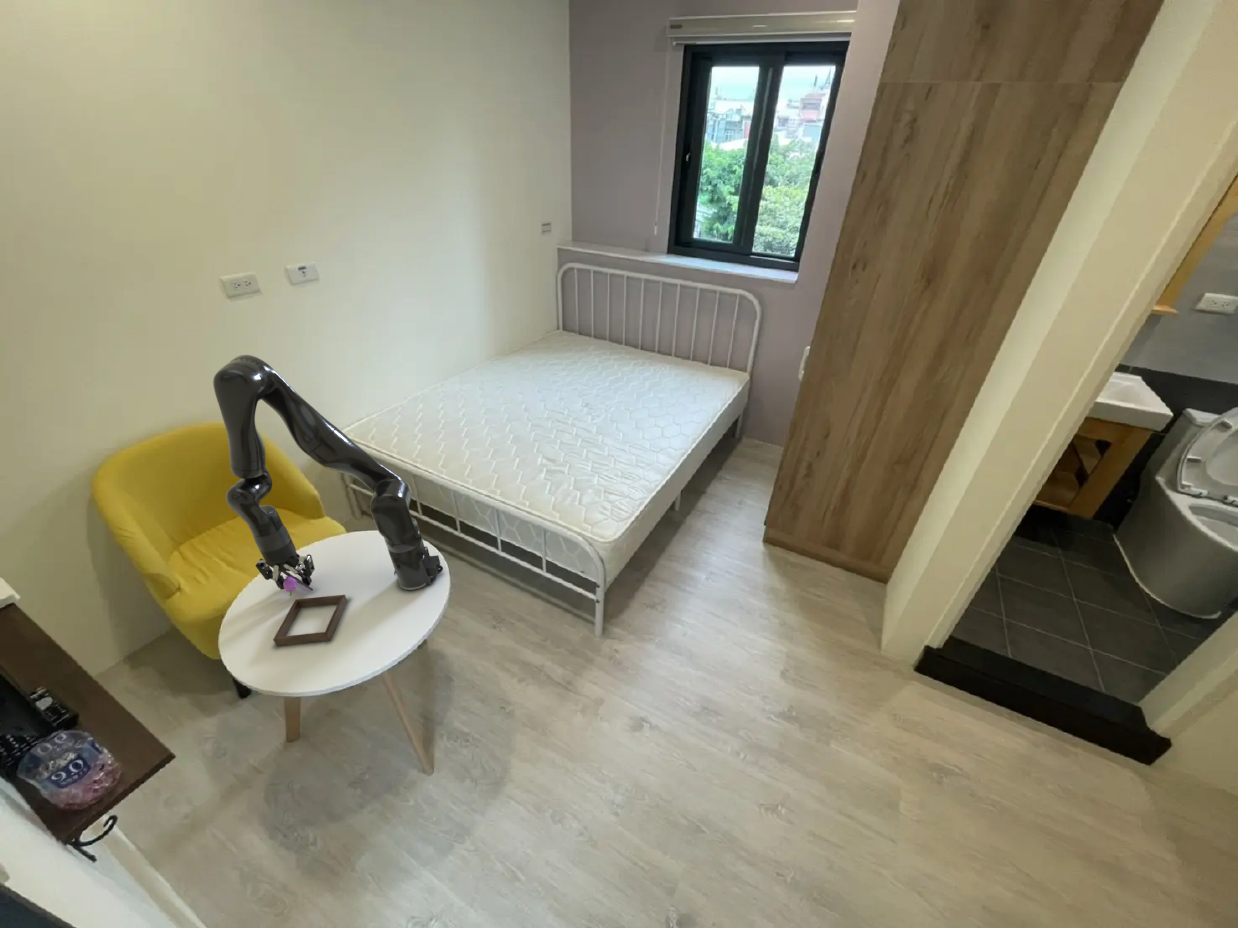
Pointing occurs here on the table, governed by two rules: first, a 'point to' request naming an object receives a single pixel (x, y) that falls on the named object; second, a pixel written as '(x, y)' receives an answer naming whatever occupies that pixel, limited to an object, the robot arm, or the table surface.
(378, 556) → the table surface
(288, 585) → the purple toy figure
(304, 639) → the brown square frame
